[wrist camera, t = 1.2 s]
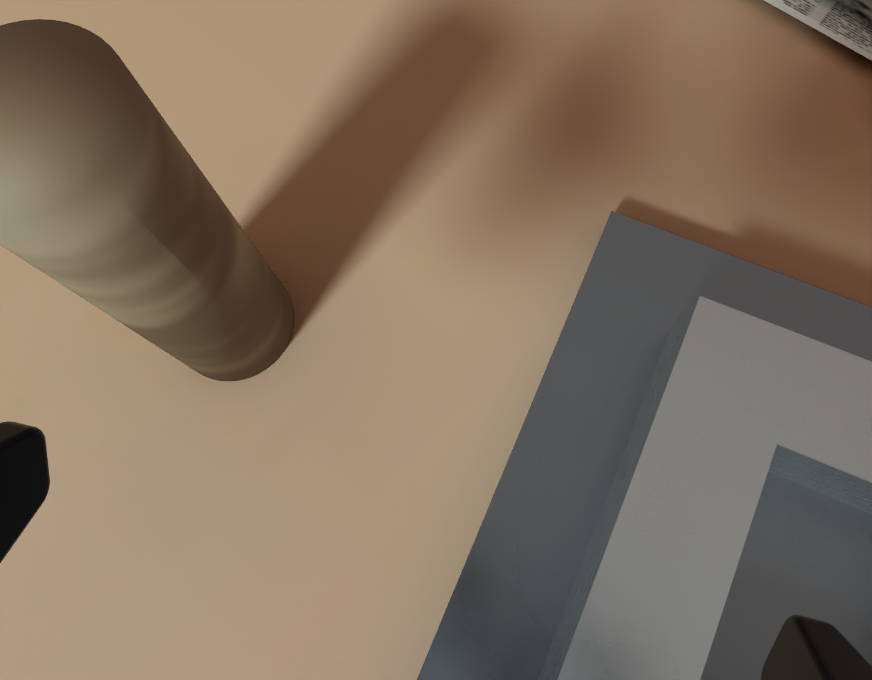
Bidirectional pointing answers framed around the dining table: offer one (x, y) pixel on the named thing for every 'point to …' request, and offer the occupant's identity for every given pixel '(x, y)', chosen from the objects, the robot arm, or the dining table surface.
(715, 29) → the dining table surface
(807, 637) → the robot arm
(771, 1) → the newspaper
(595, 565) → the socket
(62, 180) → the peg
